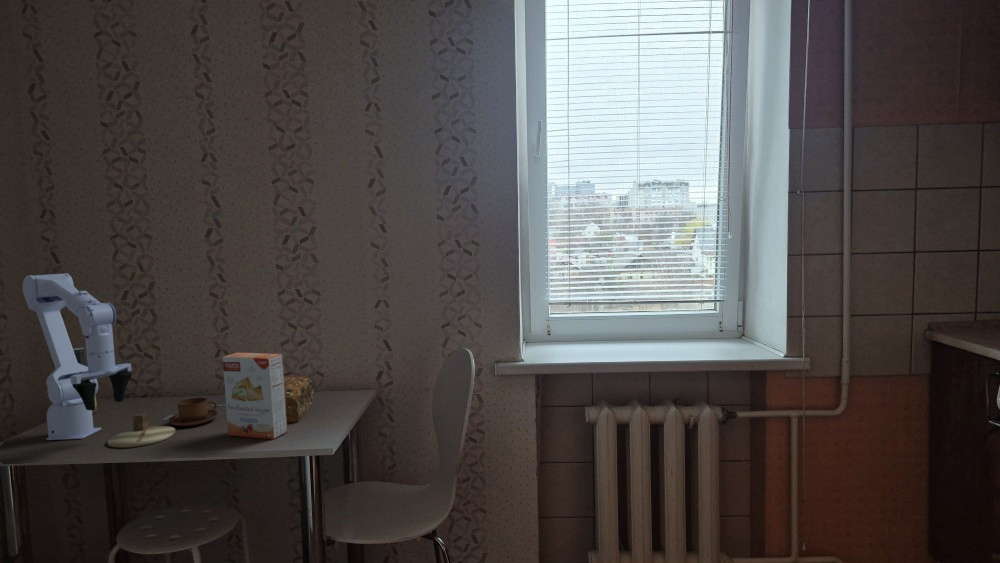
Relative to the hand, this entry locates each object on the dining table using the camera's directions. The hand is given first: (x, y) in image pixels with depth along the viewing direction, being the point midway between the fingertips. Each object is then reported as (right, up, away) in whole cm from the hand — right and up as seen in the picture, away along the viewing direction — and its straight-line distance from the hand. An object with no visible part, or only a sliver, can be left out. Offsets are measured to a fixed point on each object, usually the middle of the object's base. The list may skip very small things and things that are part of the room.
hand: (105, 405), depth 152 cm
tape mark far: (+14, -7, +33) cm, 36 cm away
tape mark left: (+4, -8, +22) cm, 24 cm away
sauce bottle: (-25, -9, +29) cm, 40 cm away
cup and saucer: (+14, -9, +17) cm, 23 cm away
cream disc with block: (+7, -9, +4) cm, 12 cm away
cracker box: (+37, -8, +3) cm, 38 cm away
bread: (+39, -7, +21) cm, 45 cm away
